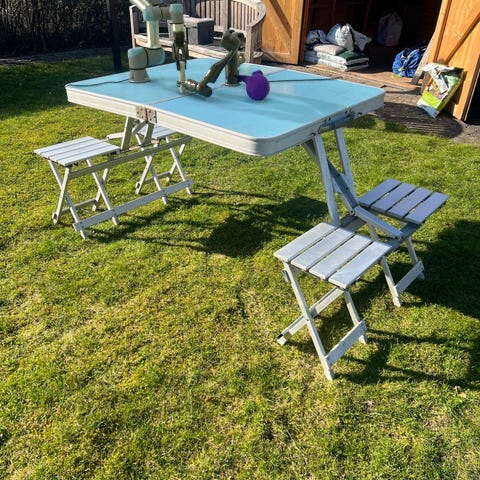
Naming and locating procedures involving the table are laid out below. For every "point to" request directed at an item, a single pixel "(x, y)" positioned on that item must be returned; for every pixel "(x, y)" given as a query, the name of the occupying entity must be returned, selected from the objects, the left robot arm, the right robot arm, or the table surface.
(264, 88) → the toy
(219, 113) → the table surface
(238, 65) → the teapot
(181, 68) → the pale green cylinder
